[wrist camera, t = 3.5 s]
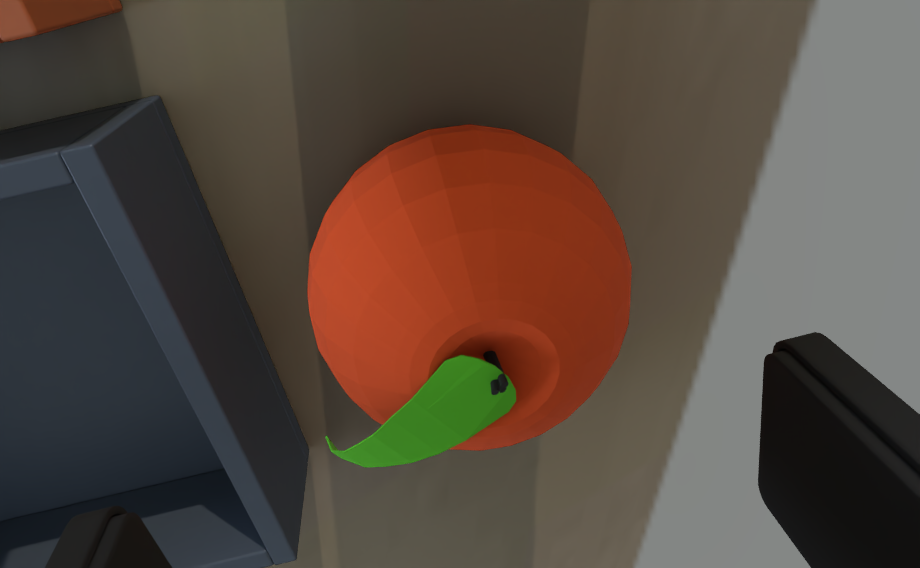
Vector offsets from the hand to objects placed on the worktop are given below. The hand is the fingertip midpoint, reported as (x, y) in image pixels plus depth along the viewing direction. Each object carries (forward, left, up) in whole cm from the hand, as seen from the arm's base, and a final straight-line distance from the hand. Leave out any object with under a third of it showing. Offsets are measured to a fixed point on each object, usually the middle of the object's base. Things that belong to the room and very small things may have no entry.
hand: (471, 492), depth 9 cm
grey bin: (+11, 0, -9) cm, 14 cm away
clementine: (0, 0, -9) cm, 9 cm away
